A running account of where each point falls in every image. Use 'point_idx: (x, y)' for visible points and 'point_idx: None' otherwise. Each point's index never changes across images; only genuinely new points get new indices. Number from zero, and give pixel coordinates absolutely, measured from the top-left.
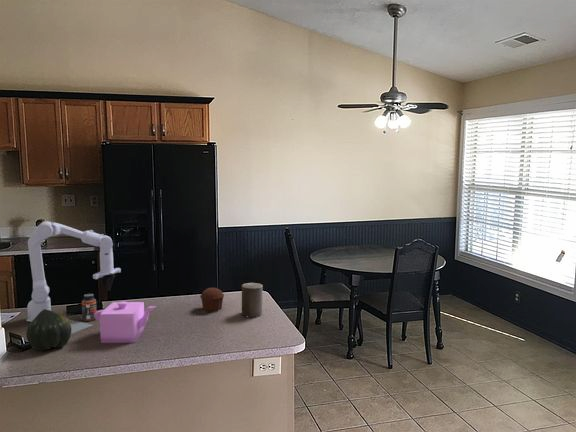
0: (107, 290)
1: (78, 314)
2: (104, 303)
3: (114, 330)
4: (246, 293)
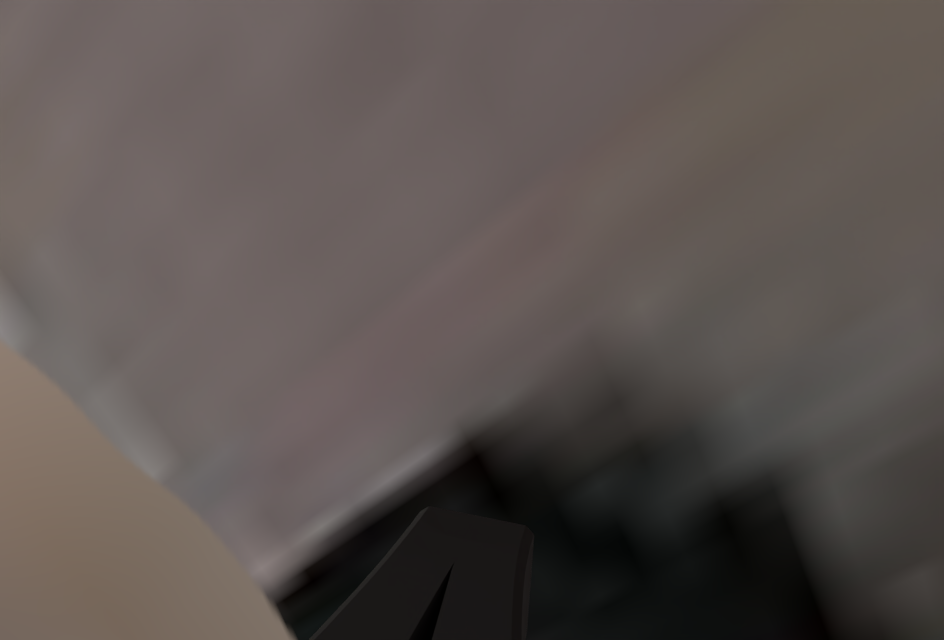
0: (527, 577)
1: (886, 608)
2: (291, 536)
3: None
4: None
